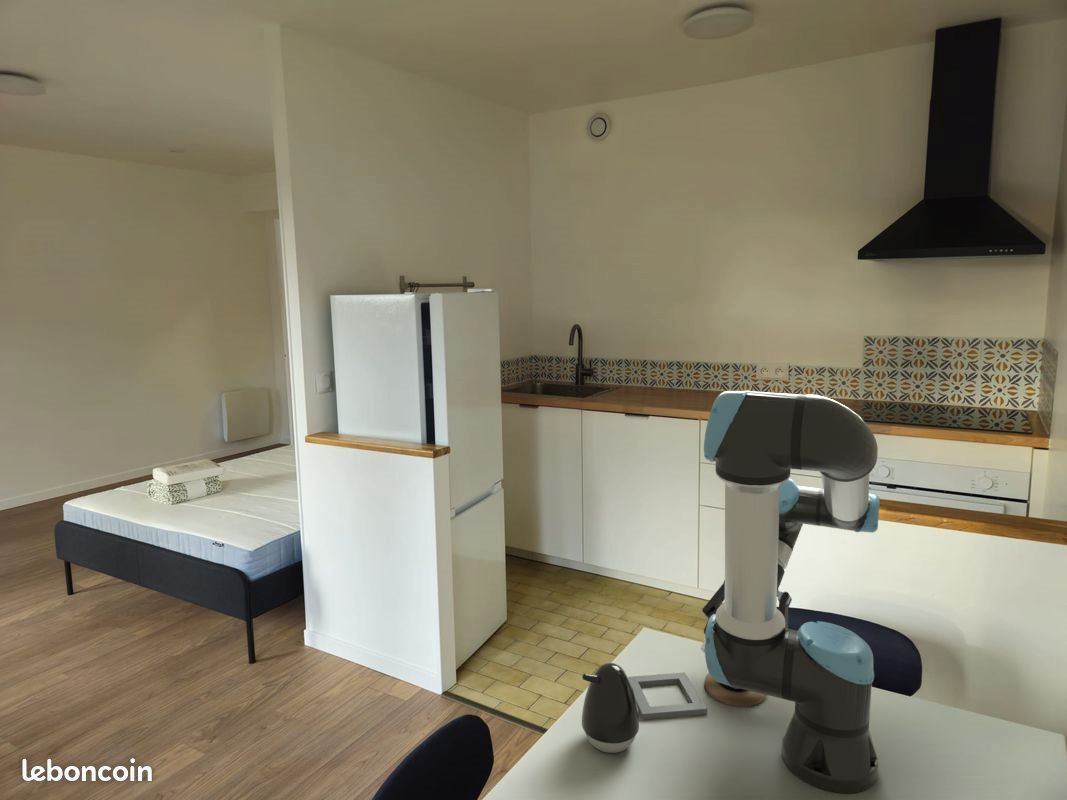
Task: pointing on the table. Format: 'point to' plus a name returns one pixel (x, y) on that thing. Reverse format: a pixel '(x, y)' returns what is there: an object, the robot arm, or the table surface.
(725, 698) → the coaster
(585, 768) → the table surface
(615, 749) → the pump dispenser
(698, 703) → the grey flat square frame
